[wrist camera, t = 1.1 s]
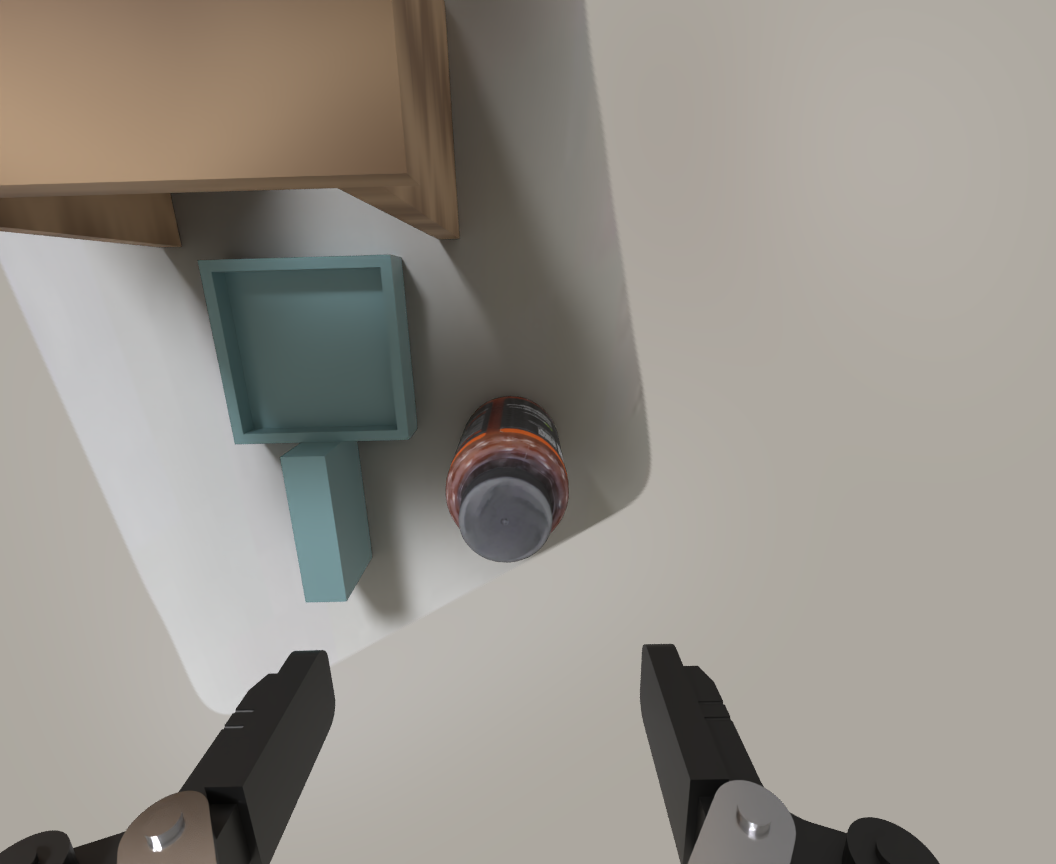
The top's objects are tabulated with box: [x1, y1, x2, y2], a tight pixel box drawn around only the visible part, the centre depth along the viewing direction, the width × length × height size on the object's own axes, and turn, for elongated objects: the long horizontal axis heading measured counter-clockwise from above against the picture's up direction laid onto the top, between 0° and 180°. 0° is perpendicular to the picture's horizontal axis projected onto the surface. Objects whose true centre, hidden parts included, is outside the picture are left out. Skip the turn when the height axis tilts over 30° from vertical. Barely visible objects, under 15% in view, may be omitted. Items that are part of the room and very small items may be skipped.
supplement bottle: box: [446, 396, 569, 562], centre depth 26 cm, size 6×6×11 cm
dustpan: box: [198, 255, 418, 602], centre depth 29 cm, size 19×10×5 cm, turn 2°
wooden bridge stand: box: [0, 0, 460, 247], centre depth 18 cm, size 11×19×17 cm, turn 91°
